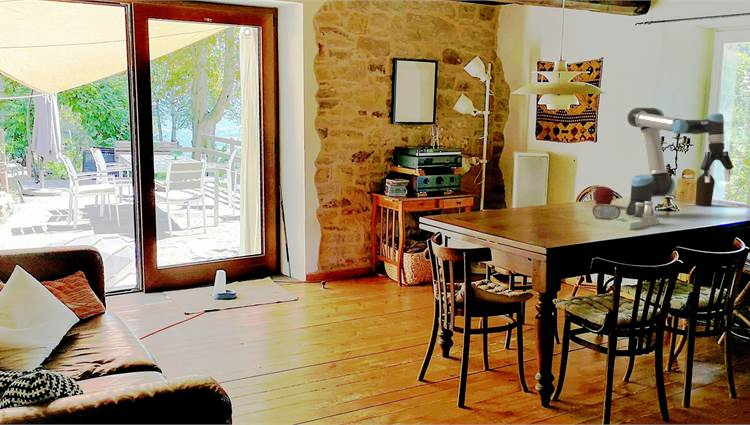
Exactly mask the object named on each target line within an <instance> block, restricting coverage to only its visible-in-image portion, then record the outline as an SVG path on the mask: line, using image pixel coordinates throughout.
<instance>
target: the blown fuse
mask: <svg viewBox="0 0 750 425" xmlns="http://www.w3.org/2000/svg"><path fill="white" fill-rule="evenodd" d="M635 206H636V209H635V217H639V218H642V214H643V206H644V203H640V202H636V205H635Z"/></svg>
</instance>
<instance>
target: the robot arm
mask: <svg viewBox="0 0 750 425" xmlns="http://www.w3.org/2000/svg"><path fill="white" fill-rule="evenodd" d="M627 122H628V123H629V125H630V126H631V127H635V128H640V132H641V133H643V135H644V143H645V148H646V155H647V161H648V162H647V163H648V169H649V173H648V174H638V175H634V176H633V177H632V179H631V183H630V184H631V185H630V200H629V203H628V205H627V207H626V211H625V214H626V215H628V216H632V215H635V209H636V206H635V205H636V202H640V203H645V201H652V198H653V197H661V198H662V197H665V196H666V197H667V196H669V195H671V194H672V193H673V191H674V189H675V185H676V183H675V180H674V178H673V177H671V176H670V174H669V171H667V170H666V166H665V160H664V159H665V158H664V152H663V148H662V140H661V134H660V133H661V132H660V131H661V130H663V131H667V132H672V133H674V134H678V135H679V134H680V135H682V134H685V135H687V134H688V135H690V134H691V135H701V134H706V133H708V143H709V144H708V151H705V152H704V158H703V159H702V162H701V165H700V170H702V171H703V173H704V176H705V182H710V175H711V173H710V172H711V166H712V164H713V163H714V162H715V161H719V162H720V163H721V165H722V166H723V168H724V182H725V183H730V180H731V179H730V178H731V170H733V168H734V166H733V165H734V164H733V162H732V160H731V158H730V155H729V151H726V150H725V143H724V142H725V125H724V124H725V123H724V122H725V120H724V115H723V113H711V114H708V115H707V118H706V119H682V118H675V117H670V116H665V115H664V112H663V111H662V110H661V109H659V108H656V107H634V108H633V109H631V110H630V111H629V112H628V113H627ZM709 168H710V170H708V169H709ZM644 207H645V204H644V206H643V214H644ZM651 214H652V215H654V210H653V207H652V212H651Z"/></svg>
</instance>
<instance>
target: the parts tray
mask: <svg viewBox="0 0 750 425" xmlns="http://www.w3.org/2000/svg"><path fill="white" fill-rule="evenodd" d="M628 218H629V217H618V218H617V219H612V220H611V219H609V227H612V226H614V227H613V228H617V227H619V228H618V229H623V228H624V229H623V230H628V229H632V230H636V229H635V228H637V229H641V228H640V227H642V228H644V227H643V221H640V220H634V219H628Z"/></svg>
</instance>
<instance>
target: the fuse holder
mask: <svg viewBox="0 0 750 425" xmlns="http://www.w3.org/2000/svg"><path fill="white" fill-rule="evenodd" d="M627 218H628V219H634V220H640V221H643V226H644V227H649V226H654V225H655V226H656V225H659V224H660V219H658V215H657V214H653V215H652V214H651V216H645V215H644V214H642V218H639V217H635V215H628V217H627ZM648 225H649V226H648Z"/></svg>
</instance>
